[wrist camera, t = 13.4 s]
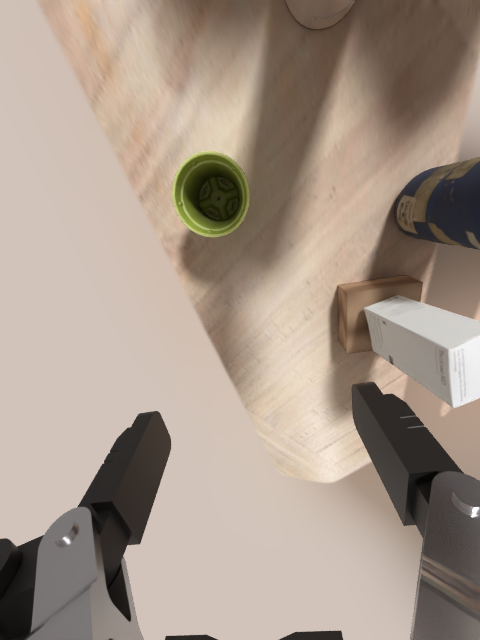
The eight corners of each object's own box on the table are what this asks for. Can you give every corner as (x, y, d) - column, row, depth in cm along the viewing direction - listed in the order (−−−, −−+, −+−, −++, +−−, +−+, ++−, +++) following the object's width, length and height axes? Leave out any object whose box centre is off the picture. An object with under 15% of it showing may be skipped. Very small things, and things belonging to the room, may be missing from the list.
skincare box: (362, 307, 38) (444, 347, 24) (399, 292, 38) (504, 324, 24) (372, 352, 41) (452, 412, 27) (407, 339, 41) (506, 392, 27)
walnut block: (337, 284, 43) (347, 293, 38) (403, 274, 42) (422, 282, 37) (337, 339, 47) (347, 353, 43) (398, 332, 46) (414, 345, 42)
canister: (472, 193, 36) (655, 180, 20) (421, 250, 40) (542, 278, 23) (426, 153, 35) (585, 102, 18) (376, 216, 38) (473, 220, 22)
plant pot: (234, 242, 40) (231, 249, 32) (179, 216, 39) (162, 217, 31) (260, 182, 37) (263, 174, 29) (200, 151, 36) (187, 134, 28)
